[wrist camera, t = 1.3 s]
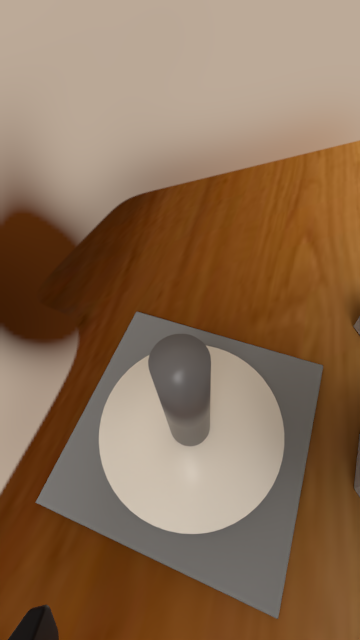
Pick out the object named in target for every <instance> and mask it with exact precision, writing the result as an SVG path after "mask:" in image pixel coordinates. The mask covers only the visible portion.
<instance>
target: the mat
mask: <svg viewBox="0 0 360 640" xmlns="http://www.w3.org/2000/svg"><path fill="white" fill-rule="evenodd" d="M173 334H188V335H192V336H194V337H196V338H198V339H199V340H201V341H202V342H203V343H204V344H205V345H206V346H211V347H215V348H219V349H221V350H224V351H227V352H229V353H231V354H233V355H235V356H237V357H239V358H240V359H242V360H243V361H245V362H246V363H248V364H249V365H250V366H251V367H252V368H253V369H255V370H256V371H257V372H258V374H259V375H260V376H261V377H262V378H263V379H264V380H265V382H266V383H267V385H268V386H269V387H270V389H271V391H272V393H273V395H274V396H275V398H276V401H277V403H278V406H279V408H280V412H281V416H282V420H283V426H284V452H283V459H282V463H281V466H280V470H279V473H278V475H277V477H276V480H275V482H274V484H273V486H272V487H271V489H270V491H269V492H268V494H267V495H266V497H265V498H264V499H263V500H262V501H261V503H260V504H259V505H258V506H257V507H256V508H255V509H254V510H253V511H251V512H250V513H249V514H248V515H247V516H245V517H244V518H242V519H241V520H239V521H238V522H236V523H234V524H232V525H230V526H228V527H225V528H223V529H220V530H217V531H213V532H209V533H201V534H181V533H176V532H171V531H166V530H164V529H161V528H158V527H155V526H153V525H151V524H149V523H148V522H146V521H144V520H142V519H141V518H139V517H138V516H137V515H135V514H134V513H133V512H131V511H130V510H129V509H128V508H127V507H126V506H125V505H124V504H123V503H122V502H121V500H120V499H119V497H118V496H117V495H116V493H115V492H114V491H113V489H112V487H111V485H110V483H109V481H108V480H107V477H106V474H105V472H104V469H103V466H102V462H101V457H100V450H99V428H100V422H101V417H102V413H103V410H104V406H105V404H106V402H107V399H108V397H109V395H110V393H111V392H112V390H113V388H114V386H115V385H116V384H117V382H118V381H119V380H120V378H121V377H122V376H123V375H124V374H125V373H126V372H127V371H128V370H129V369H130V368H131V367H132V366H133V365H135V364H136V363H137V362H139V361H140V360H142V359H143V358H145V357H146V356H148V355H150V352H151V350H152V349H153V347H154V346H155V345H156V344H157V343H158V342H159V341H160V340H161V339H163V338H165V337H167V336H169V335H173ZM322 370H323V365H320V364H316V363H313V362H309V361H306V360H302V359H299V358H295V357H292V356H288V355H285V354H282V353H278V352H275V351H271V350H268V349H264V348H261V347H257V346H254V345H250V344H247V343H244V342H240V341H237V340H233V339H230V338H226V337H223V336H219V335H216V334H212V333H209V332H206V331H202V330H199V329H195V328H192V327H188V326H185V325H181V324H178V323H174V322H171V321H168V320H164V319H161V318H157V317H154V316H150V315H147V314H143V313H140V312H136V314H135V315H134V317H133V319H132V321H131V323H130V325H129V327H128V329H127V331H126V332H125V334H124V336H123V338H122V340H121V342H120V344H119V346H118V348H117V349H116V351H115V353H114V355H113V357H112V359H111V361H110V363H109V365H108V366H107V368H106V370H105V372H104V374H103V376H102V378H101V380H100V382H99V383H98V385H97V387H96V389H95V391H94V393H93V395H92V397H91V399H90V401H89V402H88V404H87V406H86V408H85V410H84V412H83V414H82V416H81V418H80V419H79V421H78V423H77V425H76V427H75V429H74V431H73V433H72V435H71V436H70V438H69V440H68V442H67V444H66V446H65V448H64V450H63V452H62V453H61V455H60V457H59V459H58V461H57V463H56V465H55V467H54V469H53V470H52V472H51V474H50V476H49V478H48V480H47V482H46V484H45V486H44V487H43V489H42V491H41V493H40V495H39V497H38V499H37V501H36V503H38V504H40V505H42V506H44V507H46V508H48V509H50V510H52V511H54V512H56V513H59V514H61V515H63V516H65V517H67V518H69V519H71V520H73V521H75V522H77V523H79V524H81V525H84V526H86V527H88V528H90V529H92V530H94V531H96V532H98V533H100V534H102V535H104V536H106V537H108V538H111V539H113V540H115V541H117V542H119V543H121V544H123V545H125V546H127V547H129V548H131V549H133V550H135V551H138V552H140V553H142V554H144V555H146V556H148V557H150V558H152V559H154V560H156V561H158V562H160V563H162V564H165V565H167V566H169V567H171V568H173V569H175V570H177V571H179V572H181V573H183V574H185V575H187V576H189V577H192V578H194V579H196V580H198V581H200V582H202V583H204V584H206V585H208V586H210V587H212V588H214V589H216V590H219V591H221V592H223V593H225V594H227V595H229V596H231V597H233V598H235V599H237V600H239V601H241V602H243V603H246V604H248V605H250V606H252V607H254V608H256V609H258V610H260V611H262V612H264V613H266V614H268V615H270V616H273V617H275V618H277V619H278V616H279V611H280V605H281V600H282V594H283V588H284V583H285V577H286V572H287V566H288V560H289V555H290V549H291V544H292V538H293V533H294V527H295V521H296V516H297V510H298V505H299V499H300V493H301V488H302V482H303V477H304V471H305V465H306V460H307V454H308V449H309V443H310V438H311V432H312V426H313V421H314V415H315V410H316V404H317V398H318V393H319V387H320V382H321V376H322Z"/></svg>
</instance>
